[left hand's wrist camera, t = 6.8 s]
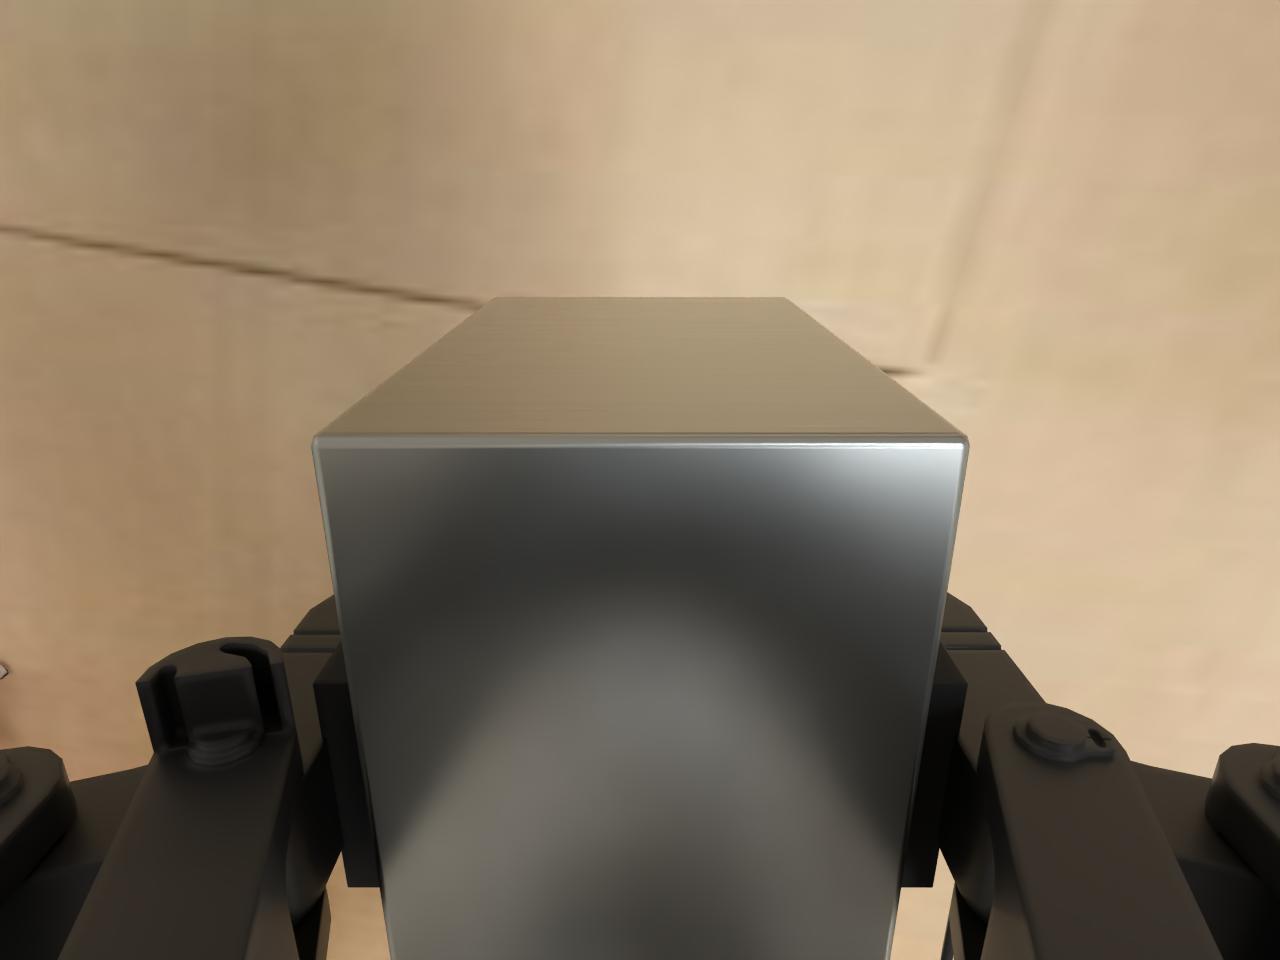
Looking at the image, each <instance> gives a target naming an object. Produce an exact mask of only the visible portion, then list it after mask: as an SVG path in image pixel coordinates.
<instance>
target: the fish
mask: <svg viewBox="0 0 1280 960" xmlns="http://www.w3.org/2000/svg"><path fill="white" fill-rule="evenodd" d="M7 674H9V673H8V670H7V669H6V668H5V667H4V666H3V665H1V664H0V679H3V678H4V677H5V676H6V675H7Z"/></svg>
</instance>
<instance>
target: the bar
mask: <svg viewBox="0 0 1280 960" xmlns="http://www.w3.org/2000/svg"><path fill="white" fill-rule="evenodd" d="M311 447H312V454H313V460H314V467H315V473H316V479H317V486H318V492H319V499H320V505H321V512H322V518H323V525H324V531H325V537H326V544H327V550H328V557H329V563H330V570H331V576H332V583H333V589H334V596H335V602H336V608H337V615H338V621H339V628H340V634H341V641H342V647H343V654H344V660H345V667H346V673H347V679H348V686H349V692H350V699H351V705H352V712H353V718H354V725H355V731H356V737H357V744H358V750H359V757H360V763H361V770H362V776H363V783H364V789H365V796H366V802H367V808H368V815H369V821H370V828H371V834H372V841H373V847H374V854H375V860H376V867H377V873H378V879H379V886H380V892H381V899H382V905H383V912H384V918H385V925H386V931H387V937H388V944H389V950H390V957H391V960H890V955H891V949H892V942H893V936H894V929H895V923H896V917H897V910H898V904H899V897H900V891H901V884H902V878H903V872H904V865H905V859H906V852H907V846H908V839H909V833H910V827H911V820H912V814H913V807H914V801H915V794H916V788H917V782H918V775H919V769H920V762H921V756H922V749H923V743H924V737H925V730H926V724H927V717H928V711H929V704H930V698H931V692H932V685H933V679H934V672H935V666H936V659H937V653H938V647H939V640H940V634H941V627H942V621H943V614H944V608H945V602H946V595H947V589H948V582H949V576H950V569H951V563H952V557H953V550H954V544H955V537H956V531H957V524H958V518H959V512H960V505H961V499H962V492H963V486H964V480H965V473H966V467H967V460H968V454H969V447H970V444H969V441H968V437H967V436H966V435H965V434H964V433H962V432H961V431H960V430H959V429H957V428H956V427H955V426H953V425H952V424H951V423H949V422H948V421H947V420H945V419H944V418H943V417H942V416H940V415H939V414H938V413H936V412H935V411H934V410H932V409H931V408H930V407H928V406H927V405H926V404H925V403H923V402H922V401H921V400H919V399H918V398H917V397H915V396H914V395H913V394H911V393H910V392H909V391H908V390H906V389H905V388H904V387H902V386H901V385H900V384H898V383H897V382H896V381H894V380H893V379H892V378H891V377H889V376H888V375H887V374H885V373H884V372H883V371H881V370H880V369H879V368H877V367H876V366H875V365H873V364H872V363H871V362H870V361H868V360H867V359H866V358H864V357H863V356H862V355H860V354H859V353H858V352H856V351H855V350H854V349H853V348H851V347H850V346H849V345H847V344H846V343H845V342H843V341H842V340H841V339H839V338H838V337H837V336H836V335H834V334H833V333H832V332H830V331H829V330H828V329H826V328H825V327H824V326H822V325H821V324H820V323H819V322H817V321H816V320H815V319H813V318H812V317H811V316H809V315H808V314H807V313H805V312H804V311H803V310H802V309H800V308H799V307H798V306H796V305H795V304H794V303H792V302H791V301H790V300H788V299H786V298H784V297H496V298H494V299H492V300H491V301H489V302H488V303H487V304H485V305H484V306H483V307H482V308H480V309H479V310H478V311H476V312H475V313H474V314H472V315H471V316H470V317H469V318H467V319H466V320H465V321H463V322H462V323H461V324H459V325H458V326H457V327H455V328H454V329H453V330H452V331H450V332H449V333H448V334H446V335H445V336H444V337H442V338H441V339H440V340H439V341H437V342H436V343H435V344H433V345H432V346H431V347H429V348H428V349H427V350H425V351H424V352H423V353H422V354H420V355H419V356H418V357H416V358H415V359H414V360H412V361H411V362H410V363H409V364H407V365H406V366H405V367H403V368H402V369H401V370H399V371H398V372H397V373H395V374H394V375H393V376H392V377H390V378H389V379H388V380H386V381H385V382H384V383H382V384H381V385H380V386H379V387H377V388H376V389H375V390H373V391H372V392H371V393H369V394H368V395H367V396H365V397H364V398H363V399H362V400H360V401H359V402H358V403H356V404H355V405H354V406H352V407H351V408H350V409H349V410H347V411H346V412H345V413H343V414H342V415H341V416H339V417H338V418H337V419H335V420H334V421H333V422H332V423H330V424H329V425H328V426H326V427H325V428H324V429H322V430H321V431H320V432H318V433H317V434H316V435H315V436H314V437H313V441H312V444H311Z"/></svg>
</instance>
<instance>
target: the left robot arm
mask: <svg viewBox="0 0 1280 960" xmlns="http://www.w3.org/2000/svg"><path fill="white" fill-rule="evenodd" d="M136 687H137V691H138V694H139V698H140V702H141V705H142V709H143V713H144V717H145V720H146V724H147V728H148V732H149V735H150V739H151V743H152V747H153V750H154V754H153V756H152V758H151V760H150V763H149V765H145V766H142V767H138V768H134V769H130V770H125V771H120V772H116V773H111V774H106V775H101V776H96V777H92V778H87V779H82V780H77V781H72V782H69V779H68V776H67V773H66V770H65V766H64V763H63V760H62V758H60V757H59V756H58V755H56V754H55V753H54V752H53V751H51V750H50V749H43V748H36V747H29V746H28V747H20V748H12V749H4V750H0V960H326V957H327V948H328V940H329V932H330V923H331V914H330V907H329V900H328V895H327V889H326V884H327V881H328V879H329V877H330V875H331V872H332V870H333V868H334V866H335V864H336V861H337V859H338V857H339V855H340V852H341V850H342V856H343V862H344V868H345V873H346V879H347V885H348V887H380V886H379V879H378V873H377V867H376V860H375V854H374V847H373V841H372V834H371V828H370V821H369V815H368V808H367V802H366V796H365V789H364V783H363V776H362V770H361V763H360V757H359V750H358V744H357V737H356V731H355V725H354V718H353V712H352V705H351V699H350V692H349V686H348V679H347V673H346V667H345V660H344V654H343V647H342V641H341V634H340V628H339V621H338V615H337V608H336V602H335V596H334V595H332V596H331V597H329V598H328V599H326V600H325V601H323V602H322V603H320V604H318V605H317V606H315V607H314V608H312V609H311V610H310V611H309V612H308V613H307V614H306V616H305V617H304V618H303V620H302V621H301V622H300V623H299V625H298V626H297V627H296V629H295V630H294V635H290V636H289V638H288V639H287V640H286V641H285V643H284V644H283V645H282V647H281V648H279V647H277V646H276V645H275V644H274V643H272V642H271V641H268V640H264V639H259V638H255V637H226V638H221V639H216V640H212V641H207V642H202V643H198V644H195V645H193V646H190V647H188V648H185V649H182V650H180V651H177V652H175V653H172V654H170V655H169V656H167V657H165V658H164V659H162V660H161V661H159V662H157V663H156V664H154V665H153V666H151V667H149V668H148V670H147V671H146V672H145V673H144V674H143V675H142V676H141V677H140V678H139V679H138V681H137V682H136ZM939 848H940V849H941V852H942V854H943V856H944V858H945V861H946V863H947V865H948V867H949V869H950V872H951V874H952V876H953V878H954V880H955V884H954V889H953V895H952V900H951V906H950V911H949V916H948V922H947V927H946V932H945V938H944V943H943V948H942V954H941V960H953V955H954V960H1280V746H1274V745H1266V744H1258V743H1250V744H1243V745H1235V746H1231V747H1230V748H1229V749H1227V750H1226V751H1225V752H1223V753H1222V754H1221V755H1220V756H1219V759H1218V762H1217V766H1216V769H1215V772H1214V775H1213V778H1212V779H1211V778H1206V777H1201V776H1196V775H1191V774H1186V773H1182V772H1177V771H1172V770H1167V769H1162V768H1157V767H1153V766H1148V765H1144V764H1141V763H1137V762H1133V761H1130V759H1129V757H1128V755H1127V753H1126V751H1125V750H1124V748H1123V747H1122V746H1121V744H1120V743H1119V742H1118V740H1117V739H1116V738H1115V737H1114V735H1113V734H1111V733H1110V732H1109V731H1107V730H1106V729H1104V728H1103V727H1102V726H1100V725H1099V724H1097V723H1096V722H1095V721H1093V720H1092V719H1090V718H1087V717H1085V716H1083V715H1081V714H1078V713H1076V712H1074V711H1072V710H1069V709H1067V708H1063V707H1059V706H1055V705H1051V704H1047V703H1046V702H1045V701H1044V700H1043V699H1042V697H1041V696H1040V695H1039V693H1038V692H1037V691H1036V690H1035V688H1034V687H1033V686H1032V685H1031V683H1030V682H1029V681H1028V679H1027V678H1026V677H1025V676H1024V674H1023V673H1022V672H1021V671H1020V669H1019V668H1018V667H1017V665H1016V664H1015V663H1014V662H1013V660H1012V659H1011V658H1010V657H1009V655H1008V654H1007V653H1006V651H1005V650H1001V645H1000V644H999V642H998V641H997V640H996V639H995V637H994V636H993V635H992V634H991V632H987V627H986V626H985V625H984V623H983V622H982V621H981V620H980V618H979V617H978V616H977V614H976V613H975V612H974V611H973V609H972V608H971V607H970V606H968V605H967V604H965V603H963V602H962V601H960V600H959V599H957V598H956V597H954V596H952V595H951V594H949V593H948V592H947V595H946V602H945V608H944V614H943V621H942V627H941V634H940V640H939V647H938V653H937V659H936V666H935V672H934V679H933V685H932V692H931V698H930V704H929V711H928V717H927V724H926V730H925V737H924V743H923V749H922V756H921V762H920V769H919V775H918V782H917V788H916V794H915V801H914V807H913V814H912V820H911V827H910V833H909V839H908V846H907V852H906V859H905V865H904V872H903V878H902V884H901V887H933V882H934V876H935V871H936V865H937V859H938V853H939Z"/></svg>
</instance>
